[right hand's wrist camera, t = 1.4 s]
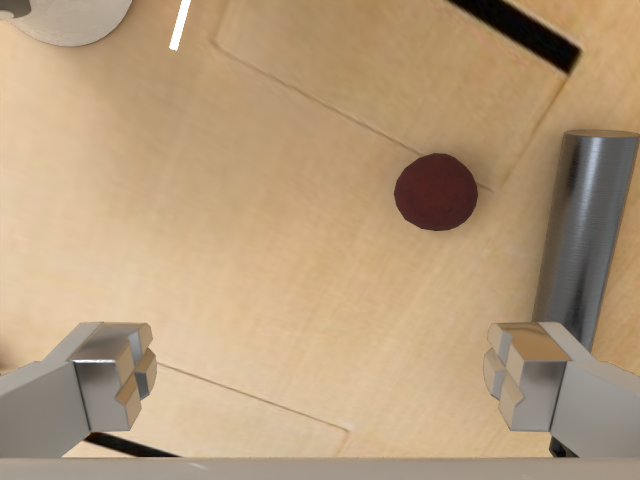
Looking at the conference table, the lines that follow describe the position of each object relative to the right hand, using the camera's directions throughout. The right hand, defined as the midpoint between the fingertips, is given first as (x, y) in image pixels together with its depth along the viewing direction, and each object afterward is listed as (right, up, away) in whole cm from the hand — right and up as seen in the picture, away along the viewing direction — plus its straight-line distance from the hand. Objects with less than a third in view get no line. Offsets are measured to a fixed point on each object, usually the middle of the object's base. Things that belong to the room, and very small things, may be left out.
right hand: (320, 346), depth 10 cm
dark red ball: (+11, +8, +35) cm, 37 cm away
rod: (+27, +1, +38) cm, 46 cm away
